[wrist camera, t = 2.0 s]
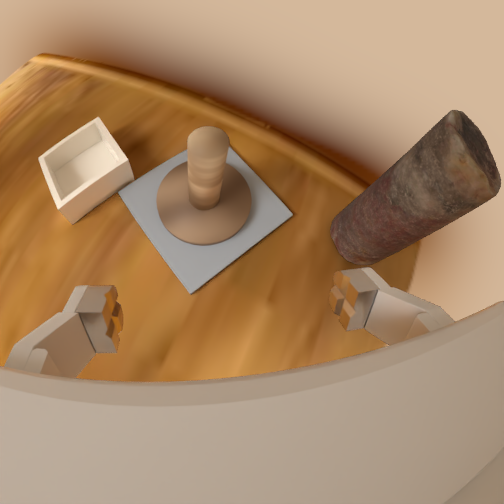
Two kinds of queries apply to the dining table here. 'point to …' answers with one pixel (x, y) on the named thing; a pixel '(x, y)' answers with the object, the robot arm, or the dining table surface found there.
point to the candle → (419, 192)
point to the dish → (85, 170)
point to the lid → (204, 192)
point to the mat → (194, 256)
